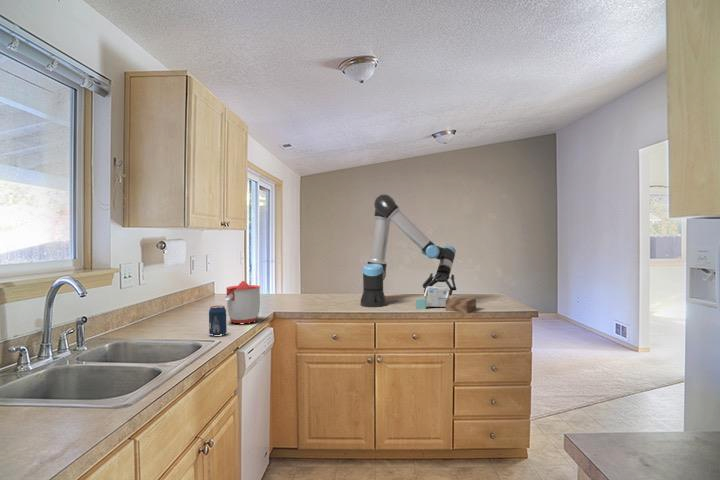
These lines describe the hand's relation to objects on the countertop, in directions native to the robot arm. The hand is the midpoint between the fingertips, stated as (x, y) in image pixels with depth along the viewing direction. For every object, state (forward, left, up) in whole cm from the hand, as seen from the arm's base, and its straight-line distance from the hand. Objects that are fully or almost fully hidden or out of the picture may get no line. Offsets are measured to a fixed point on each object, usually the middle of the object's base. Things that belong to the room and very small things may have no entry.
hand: (436, 298), depth 243 cm
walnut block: (+14, 0, -6) cm, 15 cm away
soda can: (-62, -99, -5) cm, 117 cm away
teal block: (-7, -4, -5) cm, 10 cm away
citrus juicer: (-71, -76, -5) cm, 104 cm away
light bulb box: (0, +2, -5) cm, 5 cm away
